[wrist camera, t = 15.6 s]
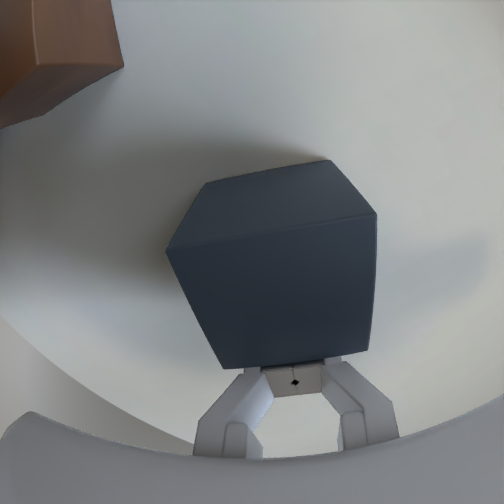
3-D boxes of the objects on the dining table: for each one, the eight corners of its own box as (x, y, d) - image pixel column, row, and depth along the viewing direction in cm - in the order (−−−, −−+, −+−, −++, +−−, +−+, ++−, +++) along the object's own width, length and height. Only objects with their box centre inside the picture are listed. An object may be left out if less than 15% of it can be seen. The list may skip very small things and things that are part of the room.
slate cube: (236, 282, 12) (223, 370, 8) (204, 183, 9) (163, 250, 6) (340, 265, 11) (368, 351, 7) (330, 159, 9) (378, 213, 5)
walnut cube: (43, 115, 8) (-37, 145, 4) (29, 35, 5) (-46, 41, 2) (125, 66, 7) (38, 65, 3) (108, -21, 5) (35, -50, 1)
